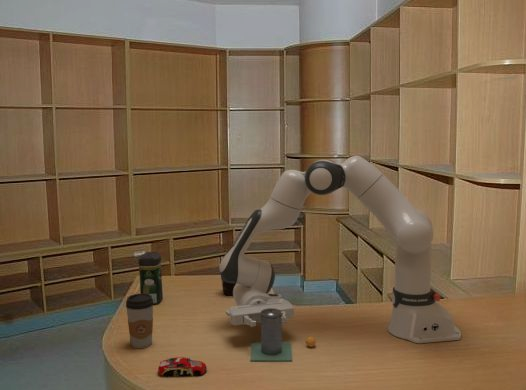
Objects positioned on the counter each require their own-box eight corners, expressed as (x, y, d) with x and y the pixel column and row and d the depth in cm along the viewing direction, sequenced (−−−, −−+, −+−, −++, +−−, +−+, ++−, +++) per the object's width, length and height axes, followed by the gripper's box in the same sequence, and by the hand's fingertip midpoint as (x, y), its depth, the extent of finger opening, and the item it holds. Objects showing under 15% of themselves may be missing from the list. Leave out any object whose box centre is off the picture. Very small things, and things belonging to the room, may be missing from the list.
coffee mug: (239, 298, 208) (239, 273, 206) (217, 297, 210) (217, 272, 208) (246, 288, 219) (246, 264, 218) (225, 287, 221) (225, 263, 219)
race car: (207, 368, 153) (207, 354, 153) (205, 377, 148) (205, 363, 147) (160, 368, 153) (160, 355, 152) (157, 378, 148) (156, 364, 147)
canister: (281, 346, 165) (281, 308, 163) (281, 355, 159) (281, 315, 157) (261, 346, 165) (261, 308, 163) (261, 355, 159) (260, 316, 157)
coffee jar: (143, 296, 211) (141, 250, 208) (164, 296, 211) (162, 249, 208) (138, 305, 201) (135, 257, 198) (159, 305, 201) (157, 256, 198)
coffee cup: (128, 351, 163) (125, 303, 161) (127, 340, 171) (124, 294, 169) (156, 348, 166) (154, 300, 163) (154, 337, 173) (152, 291, 171)
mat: (290, 343, 168) (290, 342, 168) (292, 361, 156) (292, 359, 156) (251, 343, 168) (251, 342, 168) (250, 361, 156) (250, 360, 156)
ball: (315, 344, 167) (315, 335, 167) (316, 348, 164) (316, 339, 164) (305, 344, 167) (305, 335, 167) (306, 348, 164) (306, 339, 164)
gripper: (223, 300, 172) (234, 316, 159) (285, 293, 178) (300, 308, 165) (224, 319, 173) (235, 336, 160) (285, 312, 179) (300, 328, 166)
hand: (269, 322), depth 162 cm, fingers open, 8 cm apart
